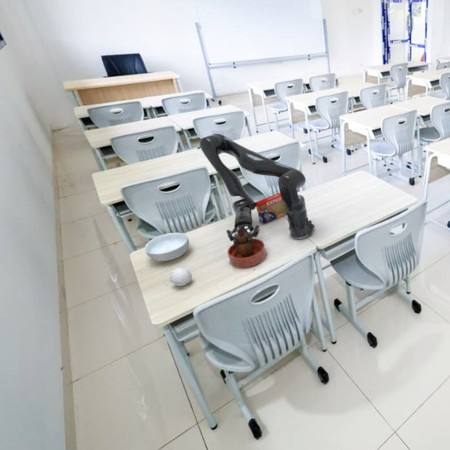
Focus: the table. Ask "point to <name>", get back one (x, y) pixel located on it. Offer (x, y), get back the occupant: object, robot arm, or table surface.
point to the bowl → (251, 260)
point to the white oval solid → (180, 276)
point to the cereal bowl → (167, 246)
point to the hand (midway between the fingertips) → (243, 242)
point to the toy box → (270, 208)
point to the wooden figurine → (244, 244)
